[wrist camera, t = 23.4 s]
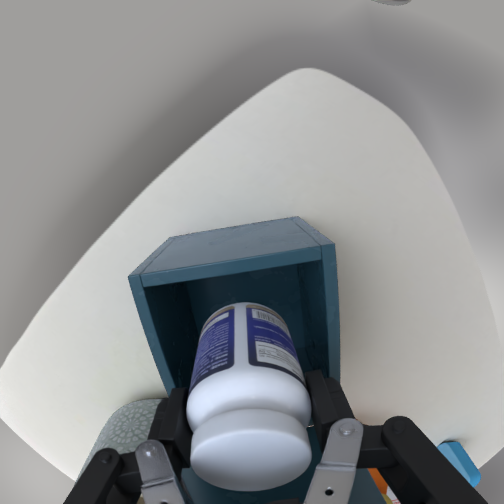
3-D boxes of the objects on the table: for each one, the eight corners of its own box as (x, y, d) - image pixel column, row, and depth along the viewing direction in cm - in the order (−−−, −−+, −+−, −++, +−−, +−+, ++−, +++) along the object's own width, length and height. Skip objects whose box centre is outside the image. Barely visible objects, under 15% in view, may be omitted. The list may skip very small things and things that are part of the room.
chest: (169, 237, 26) (126, 276, 16) (298, 216, 26) (335, 243, 16) (201, 363, 30) (187, 439, 19) (311, 347, 30) (339, 419, 19)
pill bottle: (212, 378, 19) (199, 500, 10) (191, 307, 18) (151, 426, 8) (294, 365, 19) (326, 485, 10) (283, 291, 18) (324, 406, 8)
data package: (419, 476, 40) (439, 516, 28) (405, 478, 39) (425, 520, 28) (456, 438, 37) (484, 478, 26) (444, 439, 37) (471, 482, 25)
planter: (113, 444, 33) (83, 523, 18) (112, 361, 29) (55, 461, 15) (224, 472, 35) (222, 557, 20) (257, 399, 31) (266, 514, 16)
